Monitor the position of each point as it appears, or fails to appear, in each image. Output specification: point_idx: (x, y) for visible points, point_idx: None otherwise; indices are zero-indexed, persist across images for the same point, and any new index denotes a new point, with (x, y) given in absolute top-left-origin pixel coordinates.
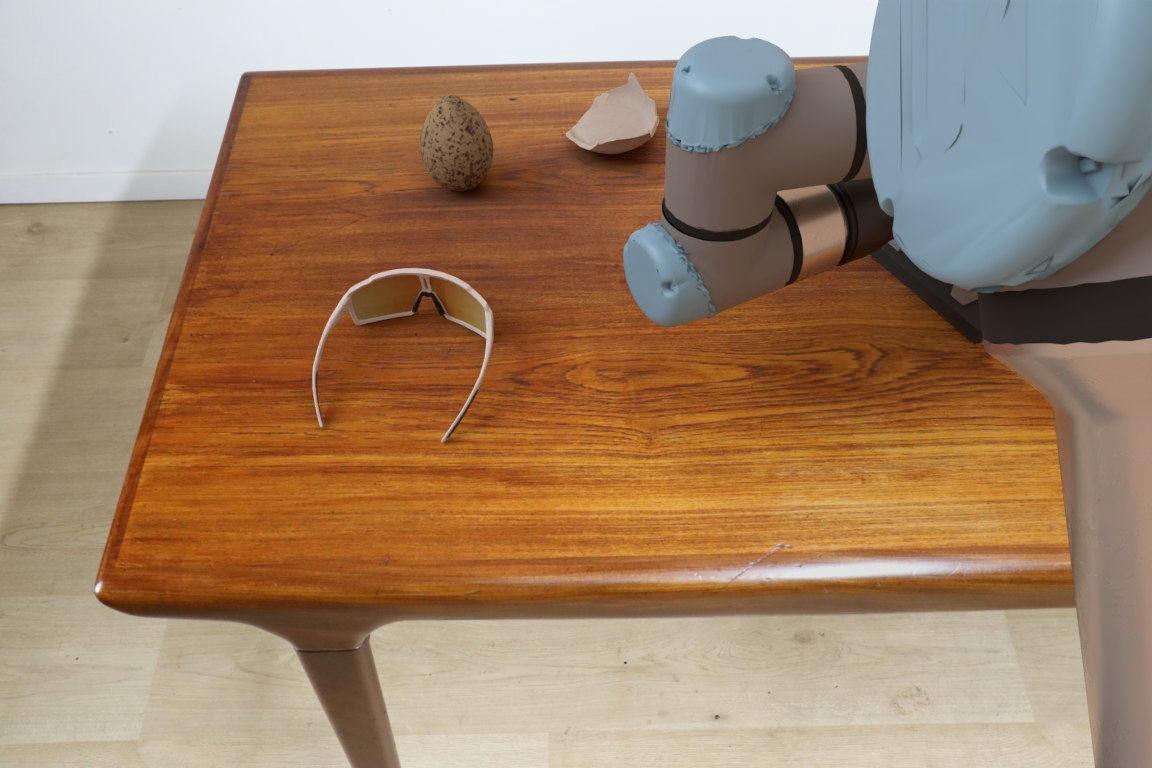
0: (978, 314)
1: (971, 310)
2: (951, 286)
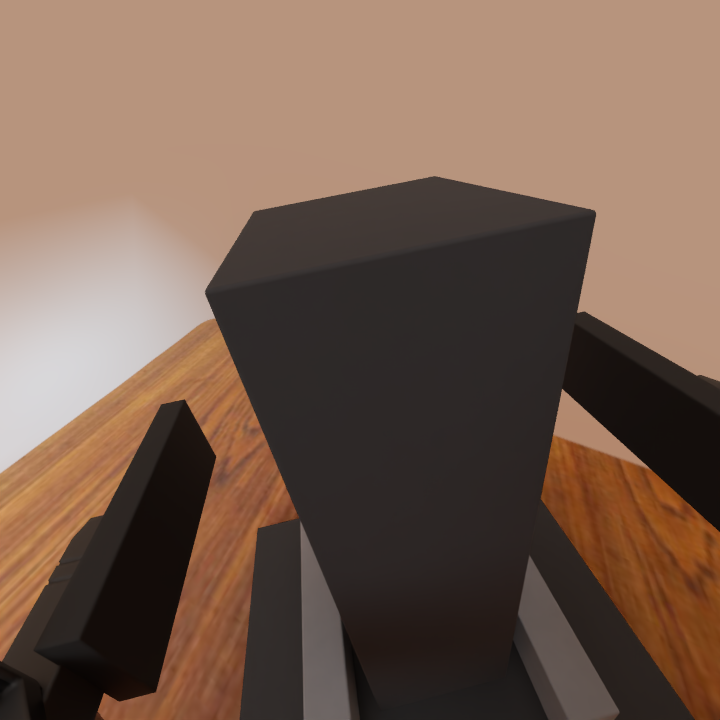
0: (635, 707)
1: (619, 718)
2: (523, 716)
